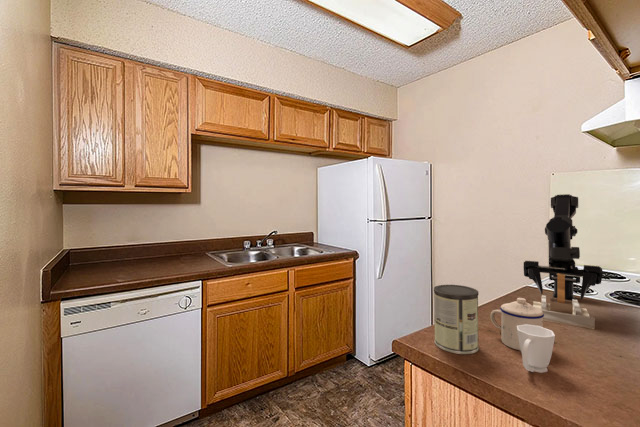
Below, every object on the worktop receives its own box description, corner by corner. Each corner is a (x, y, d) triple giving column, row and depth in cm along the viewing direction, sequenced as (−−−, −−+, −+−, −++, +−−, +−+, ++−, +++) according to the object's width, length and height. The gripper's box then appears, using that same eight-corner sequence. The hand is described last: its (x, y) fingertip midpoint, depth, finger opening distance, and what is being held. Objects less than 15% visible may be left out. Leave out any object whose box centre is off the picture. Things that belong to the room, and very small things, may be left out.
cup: (559, 368, 65) (559, 330, 65) (545, 385, 58) (545, 344, 58) (522, 356, 70) (522, 321, 70) (505, 370, 64) (505, 333, 64)
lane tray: (533, 305, 106) (533, 294, 106) (586, 313, 97) (586, 301, 97) (531, 323, 90) (531, 309, 90) (594, 334, 81) (595, 319, 81)
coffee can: (442, 333, 83) (442, 282, 83) (483, 344, 76) (483, 288, 76) (427, 345, 76) (426, 289, 76) (471, 359, 69) (470, 297, 69)
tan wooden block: (550, 314, 93) (550, 272, 93) (571, 317, 90) (571, 274, 90) (550, 318, 89) (550, 275, 89) (572, 322, 86) (572, 277, 86)
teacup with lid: (550, 346, 75) (550, 299, 74) (534, 357, 70) (534, 306, 69) (499, 330, 85) (499, 289, 84) (482, 338, 80) (482, 294, 79)
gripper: (523, 235, 98) (521, 275, 89) (601, 238, 87) (608, 284, 78) (524, 256, 104) (523, 296, 96) (597, 261, 93) (603, 306, 85)
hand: (561, 295), depth 88 cm, fingers open, 9 cm apart
